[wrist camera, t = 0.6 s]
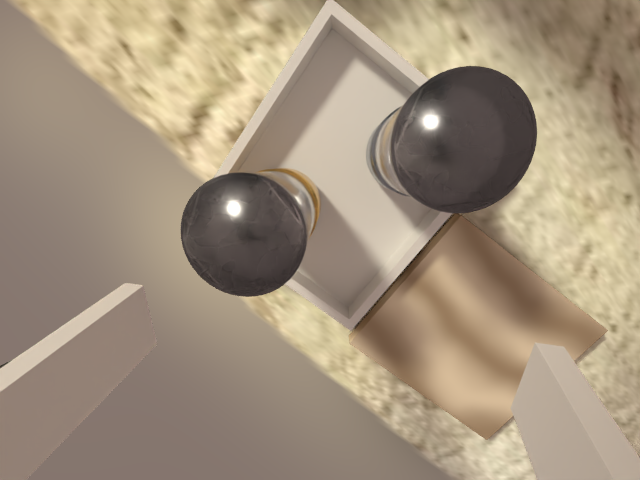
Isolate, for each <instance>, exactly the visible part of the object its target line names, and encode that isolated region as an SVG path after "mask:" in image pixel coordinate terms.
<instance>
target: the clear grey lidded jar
mask: <svg viewBox="0 0 640 480" xmlns="http://www.w3.org/2000/svg"><path fill="white" fill-rule="evenodd" d="M536 138H537V126H536V119H535V114H534V111H533V108H532V105H531V103H530V101H529V99H528V97H527V95H526V94H525V93H524V91H523V90H522V89H521V87H520V86H519V85H517V84H516V83H515V82H514V81H513V80H512V79H510V78H509V77H508V76H506V75H504V74H502V73H500V72H498V71H496V70H493V69H490V68H485V67H479V66H466V67H458V68H454V69H450V70H447V71H445V72H442V73H440V74H438V75H436V76H434V77H433V78H431V79H429V80H428V81H427V82H425V83H424V84H423V85H421V86H420V87H419V88H418V89H417V90H416V91H415V92H414V93H413V94H412V95H411V96H410V97H409V98H408V99H407V101H406V102H405V103H404V104H403V106H401V107H399V108H397V109H396V110H394V111H393V112H392V113H390V114H389V115H388V116H387V117H386V118H385V119H384V120H383V121H382V122H381V123H380V124H379V125H378V126H377V127H376V128H375V129H374V131H373V132H372V134H371V136H370V138H369V140H368V143H367V148H366V161H367V166H368V169H369V171H370V173H371V174H372V176H373V177H374V179H375V180H376V181H377V182H378V183H379V184H381V185H382V186H384V187H386V188H388V189H390V190H392V191H394V192H396V193H398V194H401V195H404V196H409V197H412V198H413V199H415V200H416V201H418V202H419V203H421V204H423V205H425V206H427V207H430V208H432V209H435V210H438V211H441V212H447V213H468V212H473V211H477V210H480V209H483V208H486V207H488V206H490V205H492V204H494V203H495V202H497V201H499V200H500V199H502V198H503V197H504V196H506V195H507V194H508V193H509V192H510V191H511V190H512V189H513V188H514V187H515V186H516V185H517V184H518V183H519V181H520V180H521V179H522V177H523V176H524V174H525V172H526V171H527V169H528V167H529V165H530V163H531V160H532V157H533V154H534V151H535V146H536Z"/></svg>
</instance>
